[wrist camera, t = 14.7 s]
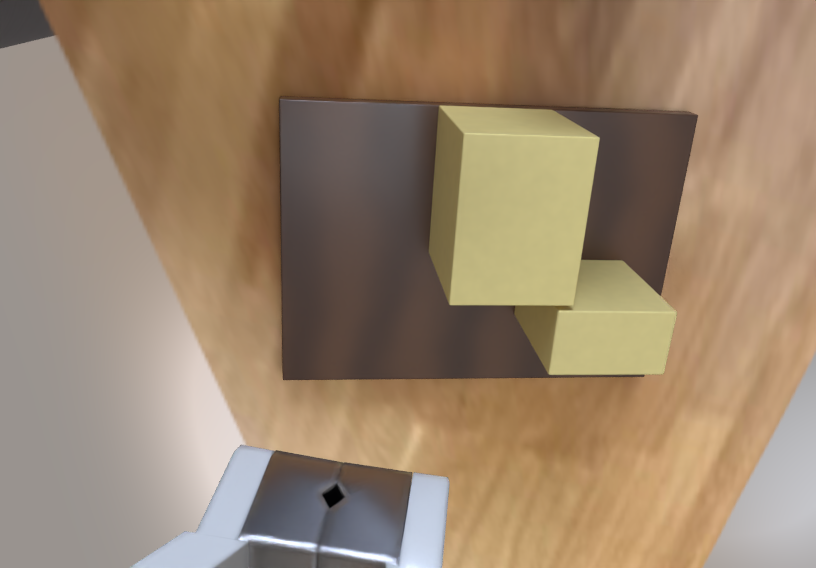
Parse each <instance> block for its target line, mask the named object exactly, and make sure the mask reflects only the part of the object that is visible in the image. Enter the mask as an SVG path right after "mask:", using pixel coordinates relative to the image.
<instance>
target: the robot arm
mask: <svg viewBox="0 0 816 568" xmlns="http://www.w3.org/2000/svg"><path fill="white" fill-rule="evenodd" d="M411 479H412V482H411ZM449 484H450V483H449V480H448V477H442V476H435V475H428V474H421V473H413V476H412V472H406V471H399V470H392V469H386V468H379V467H372V466H365V465H359V464H352V463H345V462H344V463H343V462H337V461H332V460H326V459H321V458H315V457H310V456H304V455H299V454H293V453H288V452H282V451H277V450H276V451H272V450H267V449H261V448H256V447H251V446H246V445H240V447H238V448H237V449H236V450H235V451H234V453H233V455H232V457H231V459H230V461H229V463H228V466H227V468H226V470H225V472H224V474H223V476H222V478H221V480H220V482H219V484H218V487H217V489H216V491H215V493H214V495H213V497H212V499H211V502H210V503H209V505H208V508H207V510H206V512H205V514H204V516H203V518H202V520H201V522H200V525H199V527H198V529H197V531H196V533H194V532H187V531H185V532H183V533H182V534H180V535H179V536H177V537H175V538H174V539H172V540H171V541H169V542H168V543H166V544H165V545H163V546H162V547H160V548H159V549H157V550H156V551H154V552H153V553H151V554H150V555H148V556H147V557H145V558H144V559H142V560H141V561H139V562H137V563H136V564H134V565H133V566H131V567H130V568H442V562H443V550H444V539H445V528H446V517H447V506H448V495H449ZM410 487H411V489H410Z"/></svg>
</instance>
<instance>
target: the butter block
mask: <svg viewBox="0 0 816 568" xmlns="http://www.w3.org/2000/svg"><path fill="white" fill-rule="evenodd" d="M599 140H600V138H599V137H598V136H596V135H594V134H593V133H591V132H589V131H588V130H586V129H584V128H582V127H581V126H579V125H577V124H576V123H574V122H572V121H571V120H569V119H567V118H566V117H564V116H562V115H560V114H559V113H557V112H555V111H554V110H548V109H522V108H495V107H469V106H442V105H440V106H439V112H438V126H437V140H436V155H435V169H434V183H433V198H432V212H431V226H430V240H429V254H430V257H431V259H432V262H433V264H434V267H435V269H436V272H437V275H438V277H439V280H440V282H441V285H442V287H443V290H444V292H445V295H446V298H447V300H448V303H449V305H524V306H573V305H574V300H575V294H576V287H577V281H578V274H579V268H580V262H581V255H582V249H583V242H584V236H585V230H586V223H587V217H588V211H589V204H590V198H591V191H592V185H593V179H594V172H595V166H596V159H597V153H598V147H599Z"/></svg>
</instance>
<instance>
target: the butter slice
mask: <svg viewBox="0 0 816 568" xmlns="http://www.w3.org/2000/svg"><path fill="white" fill-rule="evenodd" d="M514 314H515V316H516V318H517V320H518V322H519V323H520V325H521V327H522V329H523V330H524V332H525V334H526V336H527V337H528V339H529V341H530V343H531V345H532V346H533V348H534V350H535V352H536V353H537V355H538V357H539V359H540V360H541V362H542V364H543V366H544V367H545V369H546V371H547V373H548V374H549V375H658V374H664V370H665V366H666V361H667V357H668V352H669V348H670V343H671V339H672V334H673V330H674V325H675V321H676V316H677V312H676V311H675V310H674V309H673V308H672V307H671V306H670V305H669V304H668V303H667V302H666V301H665V300H664V299H663V298H662V297H661V296H660V295H659V294H658V293H656V292H655V291H654V290H653V289H652V288H651V287H650V286H649V285H648V284H647V283H646V282H645V281H644V280H643V279H642V278H641V277H640V276H639V275H638V274H637V273H635V272H634V271H633V270H632V269H631V268H630V267H629V266H628V265H627V264H626V263H625V262H624V261H622V260H581V262H580V268H579V274H578V281H577V287H576V294H575V300H574V305H573V306H524V305H515V313H514Z"/></svg>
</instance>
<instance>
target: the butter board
mask: <svg viewBox="0 0 816 568" xmlns="http://www.w3.org/2000/svg"><path fill="white" fill-rule="evenodd" d="M440 105H442V106H469V107H495V108H522V109H548V110H554V111H555V112H557V113H559V114H560V115H562V116H564V117H566V118H567V119H569V120H571V121H572V122H574V123H576V124H577V125H579V126H581V127H582V128H584V129H586V130H588V131H589V132H591V133H593V134H594V135H596V136H598V137H599V138H600V140H599V147H598V153H597V159H596V166H595V172H594V179H593V185H592V191H591V198H590V204H589V211H588V217H587V223H586V230H585V236H584V242H583V249H582V255H581V260H622V261H624V262H625V263H626V264H627V265H628V266H629V267H630V268H631V269H632V270H633V271H634V272H635V273H637V274H638V275H639V276H640V277H641V278H642V279H643V280H644V281H645V282H646V283H647V284H648V285H649V286H650V287H651V288H652V289H653V290H654V291H655V292H656V293H658V294H659V295H660V296H661V293H662V288H663V283H664V278H665V273H666V268H667V264H668V259H669V254H670V249H671V244H672V239H673V234H674V230H675V225H676V220H677V215H678V210H679V205H680V200H681V196H682V191H683V186H684V181H685V176H686V171H687V167H688V162H689V157H690V152H691V147H692V142H693V137H694V133H695V128H696V123H697V118H698V115H696V114H694V113H691V112H680V111H654V110H628V109H602V108H576V107H550V106H524V105H498V104H471V103H445V102H419V101H393V100H367V99H341V98H315V97H289V96H281V97H280V99H279V129H280V205H281V281H282V357H283V380H343V379H453V378H564V377H644V375H549V374H548V373H547V371H546V369H545V367H544V366H543V364H542V362H541V360H540V359H539V357H538V355H537V353H536V352H535V350H534V348H533V346H532V345H531V343H530V341H529V339H528V337H527V336H526V334H525V332H524V330H523V329H522V327H521V325H520V323H519V322H518V320H517V318H516V316H515V314H514V313H515V305H449V303H448V300H447V298H446V295H445V292H444V290H443V287H442V285H441V282H440V280H439V277H438V275H437V272H436V269H435V267H434V264H433V262H432V259H431V257H430V254H429V240H430V226H431V212H432V198H433V183H434V169H435V155H436V140H437V126H438V112H439V106H440Z"/></svg>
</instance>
